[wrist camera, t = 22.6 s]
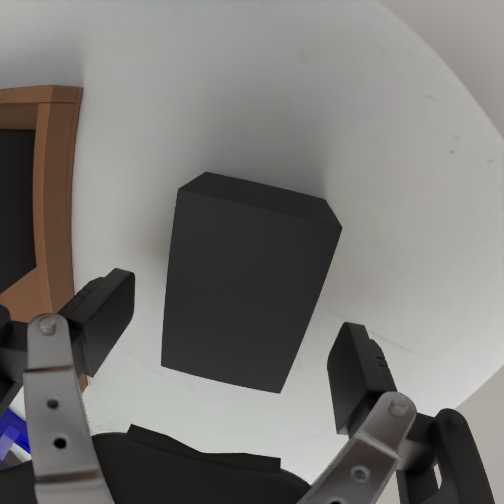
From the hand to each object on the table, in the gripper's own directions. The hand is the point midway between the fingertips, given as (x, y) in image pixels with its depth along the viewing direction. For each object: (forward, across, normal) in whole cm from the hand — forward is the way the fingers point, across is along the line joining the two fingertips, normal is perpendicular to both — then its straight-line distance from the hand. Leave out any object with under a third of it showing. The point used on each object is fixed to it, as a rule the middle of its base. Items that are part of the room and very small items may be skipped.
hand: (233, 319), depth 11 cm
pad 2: (+4, 0, 0) cm, 4 cm away
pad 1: (+4, +15, -1) cm, 15 cm away
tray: (+4, +15, +3) cm, 16 cm away
